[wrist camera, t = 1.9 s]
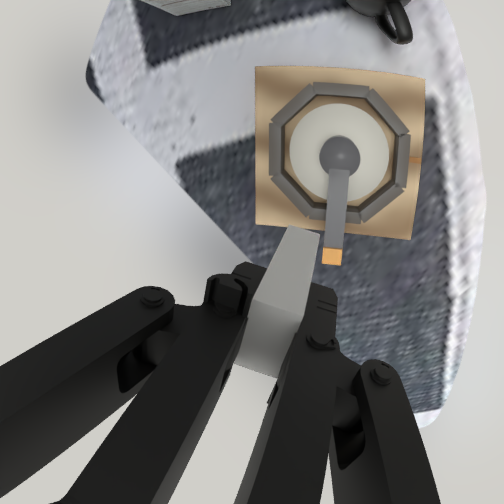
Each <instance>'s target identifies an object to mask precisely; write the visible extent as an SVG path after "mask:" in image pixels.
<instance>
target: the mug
mask: <svg viewBox="0 0 504 504" xmlns="http://www.w3.org/2000/svg"><path fill="white" fill-rule="evenodd" d="M410 1H411V0H346V2H347V3H348V4H349V5H350V6H351V7H352V8H353V9H354V10H355V11H357V12H358V13H360V14H363V15H365V16H370V17H375V20H376V23H377V25H378V26H379V28H380V29H381V30H382V32H383V33H384V34H385V35H386V36H387V37H388V38H389V39H390V40H391V41H393V42H394V43H396V44H408V43H410V42H411V41H412V39H413V33H412V28H411V25H410V22H409V19H408V16H407V14H406V12H405V10H404V6H405V5H407V4H408V3H409V2H410ZM388 14H391V17H392V19H393V22H394V25H395V28H396V30H395V29H394V28H393V27H392V25H391V24H390V22H389V20H388V17H387V15H388Z"/></svg>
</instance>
